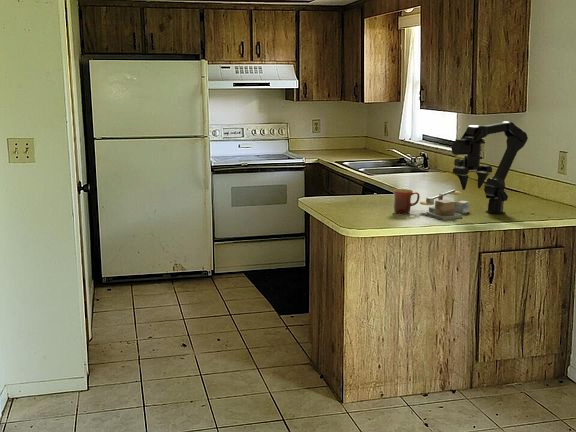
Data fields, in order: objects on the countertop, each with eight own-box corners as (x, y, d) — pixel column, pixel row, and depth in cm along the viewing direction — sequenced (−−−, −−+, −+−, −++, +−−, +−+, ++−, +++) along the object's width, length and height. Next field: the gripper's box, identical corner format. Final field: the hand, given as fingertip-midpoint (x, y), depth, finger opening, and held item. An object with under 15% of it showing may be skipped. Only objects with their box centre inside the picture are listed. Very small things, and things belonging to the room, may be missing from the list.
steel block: (459, 210, 325) (459, 200, 324) (468, 212, 322) (469, 201, 321) (453, 212, 322) (454, 201, 321) (463, 213, 318) (463, 203, 317)
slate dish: (444, 213, 319) (445, 210, 319) (462, 217, 310) (462, 214, 309) (426, 215, 314) (426, 212, 313) (443, 220, 304) (443, 217, 304)
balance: (453, 207, 332) (454, 188, 330) (462, 209, 327) (464, 190, 325) (416, 211, 321) (417, 191, 319) (425, 214, 316) (426, 194, 314)
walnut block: (454, 215, 310) (454, 201, 309) (443, 216, 307) (444, 202, 306) (444, 212, 315) (445, 199, 314) (434, 213, 312) (435, 200, 311)
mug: (394, 214, 314) (395, 192, 312) (390, 210, 323) (391, 188, 321) (420, 214, 315) (421, 192, 313) (416, 211, 323) (417, 189, 321)
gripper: (475, 151, 320) (473, 184, 323) (445, 153, 311) (443, 187, 314) (494, 153, 311) (491, 188, 314) (462, 156, 302) (460, 191, 305)
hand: (471, 189), depth 312 cm, fingers open, 9 cm apart
